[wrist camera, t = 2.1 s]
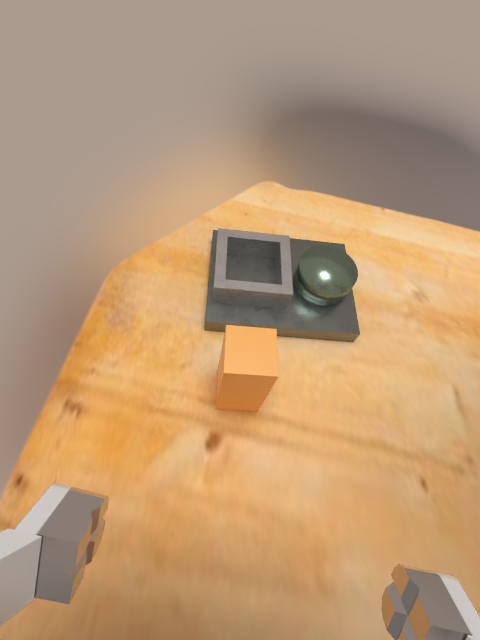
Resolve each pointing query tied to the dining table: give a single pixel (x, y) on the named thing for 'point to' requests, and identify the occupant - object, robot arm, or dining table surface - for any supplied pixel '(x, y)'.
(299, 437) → the dining table surface
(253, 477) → the dining table surface
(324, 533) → the dining table surface
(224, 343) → the tall orange prism
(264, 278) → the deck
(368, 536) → the dining table surface
